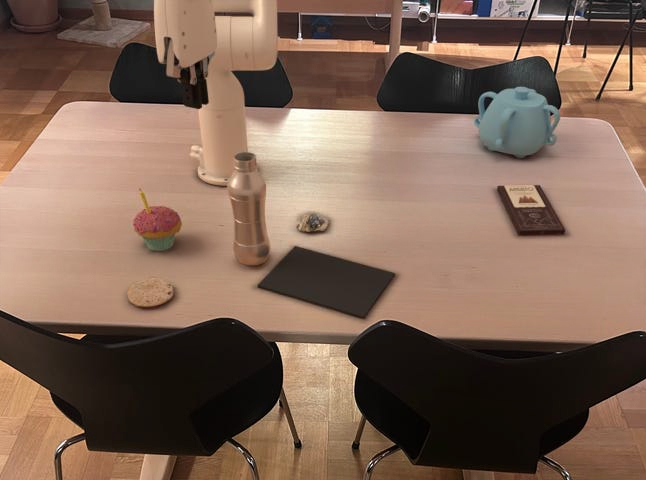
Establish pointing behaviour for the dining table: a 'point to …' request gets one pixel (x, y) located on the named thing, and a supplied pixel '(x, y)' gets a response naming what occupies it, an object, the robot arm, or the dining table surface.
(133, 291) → the flatbread
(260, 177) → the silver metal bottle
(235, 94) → the robot arm
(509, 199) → the chocolate bar
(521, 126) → the decorative pot
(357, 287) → the mat
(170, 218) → the cupcake
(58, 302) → the dining table surface
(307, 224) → the mineral rock
